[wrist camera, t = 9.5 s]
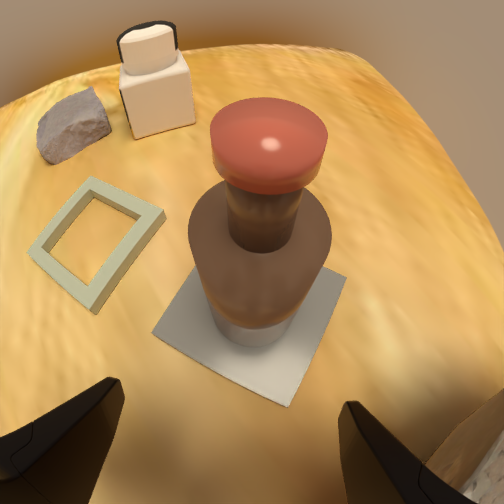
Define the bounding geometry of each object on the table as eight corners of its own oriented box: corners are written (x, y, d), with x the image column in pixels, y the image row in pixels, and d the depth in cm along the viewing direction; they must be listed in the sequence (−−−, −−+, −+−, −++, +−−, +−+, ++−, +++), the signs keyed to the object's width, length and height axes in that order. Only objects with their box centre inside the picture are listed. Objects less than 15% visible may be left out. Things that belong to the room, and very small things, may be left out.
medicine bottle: (132, 110, 31) (112, 28, 21) (185, 96, 33) (176, 12, 22) (134, 141, 28) (107, 45, 18) (196, 124, 29) (186, 25, 19)
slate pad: (286, 407, 16) (287, 407, 16) (153, 334, 18) (151, 332, 18) (344, 280, 21) (346, 277, 20) (226, 225, 23) (225, 221, 22)
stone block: (56, 182, 28) (120, 130, 29) (32, 159, 24) (101, 101, 25) (49, 141, 33) (100, 100, 34) (32, 121, 29) (86, 77, 30)
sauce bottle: (245, 364, 17) (251, 258, 5) (196, 299, 19) (132, 121, 7) (309, 313, 19) (407, 151, 7) (259, 257, 21) (277, 68, 9)
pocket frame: (96, 315, 19) (88, 309, 18) (33, 258, 21) (26, 252, 20) (166, 218, 23) (163, 209, 22) (94, 183, 25) (90, 175, 24)
